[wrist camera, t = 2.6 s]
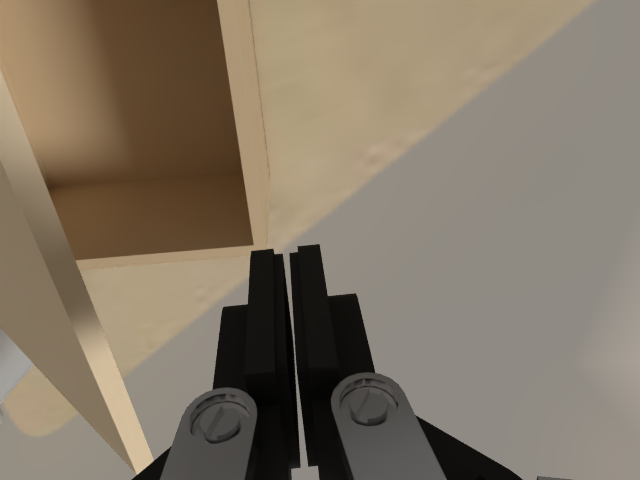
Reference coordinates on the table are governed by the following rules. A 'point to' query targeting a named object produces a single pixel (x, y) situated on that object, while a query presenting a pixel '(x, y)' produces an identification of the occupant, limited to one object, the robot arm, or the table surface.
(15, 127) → the flap
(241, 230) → the carton
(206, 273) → the table surface
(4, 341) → the salt shaker
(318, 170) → the table surface
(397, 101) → the table surface
